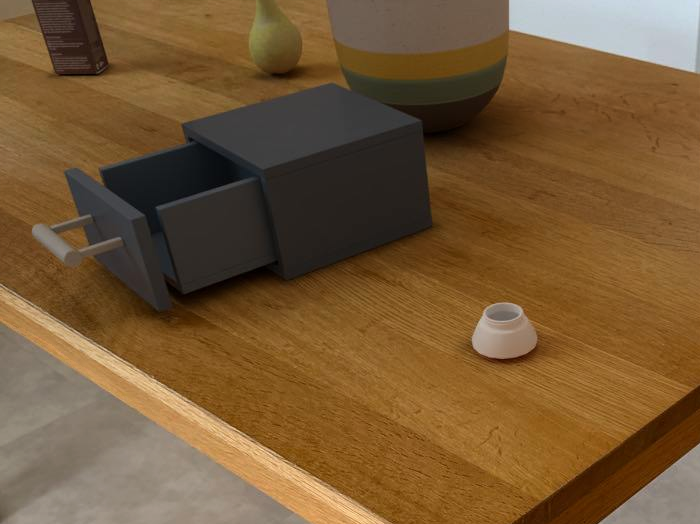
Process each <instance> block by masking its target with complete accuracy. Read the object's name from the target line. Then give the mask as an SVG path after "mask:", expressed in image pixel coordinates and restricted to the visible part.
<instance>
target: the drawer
mask: <svg viewBox="0 0 700 524" xmlns="http://www.w3.org/2000/svg"><path fill="white" fill-rule="evenodd" d="M98 172H99V175H100V179H101V181H102V183H101V182H99V181H97V180H96V179H94V177H91V176H90V175H89V174H87V173H86V172H84V171H83V170H82V169H81V168H79V167H78V166H75V167H72V168H68V169H66V170H63V174H64V176H65V179H66V182H67V186H68V188H69V191H70V194H71V197H72V199H73V203H74V205H75V208H76V211H77V215H78V217H75V218H73V219H69V220H66V221H63V222H59V223H56V224H51V225H49V226H48V225H47V224H46V223H42V222H41V223H40V222H39V223H36V224H35V225H33V226H32V229H31V234H32V236H33V238H34V239H35V240H37V241H38V242H39V243H40V244H41V245H42V246H44V247H45V249H47V250H48V251H49V252H51V253H52V254H53V255H54V256H55V257H56V258H57V259H59V261H61V262H62V263H63V264H64V265H65V266H67V267H69V268H71V269H76V268H78V267H79V266H81V264H82V262H83V259H87V258H90V257H93V259H94V260H95V261H96V262H98V263H99V264H100V265H101V266H102V267H104V268H105V269H106V270H108V271H109V272H110V273H111V274H112V275H114V276H115V278H117V279H118V280H119V281H121V282H122V283H123V284H125V285H126V286H127V287H128V288H129V289H131V290H132V291H133V292H134V293H135V294H137V295H138V296H139V297H140V298H142V299H143V300H144V301H145V302H146V303H147V304H149V305H150V306H152V307H153V308H154V309H155V310H156V311H157V312H159V313H162V312H165V311H166V310H167V311H168V310H171V309H172V308H173V303H172V300H171V296H170V294H169V289H168V286H167V283H168V284H169V285H171V286H172V287H173V288H175V289H176V290H177V291H179V292H180V293H181V294H183V295H186V294H189V293H192V292H194V291H197V290H200V289H202V288H205V287H209V286H211V285H213V284H217V283H219V282H222V281H225V280H228V279H230V278H233V277H237V276H239V275H242V274H245V273H247V272H251V271H252V270H253V271H254V270H256V269H258V268H261V267H265V266H264V265H267V264H270V263H272V262H275V261H278V259H277V254H276V249H275V245H274V240H273V235H272V231H271V226H270V221H269V217H268V212H267V207H266V203H265V198H264V193H263V189H262V184H261V179H260V177H259V176H257V175H256V174H254V173H252V172H250V171H249V170H247V169H245V168H243V167H241V166H240V165H238V164H236V163H234V162H233V161H231V160H229V159H227V158H226V157H224V156H222V155H220V154H219V153H217V152H215V151H213V150H212V149H210V148H208V147H206V146H205V145H203V144H201V143H199V142H198V141H196V140H195V141H192V142H188V143H186V142H184V143H181V144H178V145H174V146H170V147H168V148H164V149H161V150H156V151H152V152H150V153H146V154H143V155H138V156H135V157H132V158H129V159H125V160H121V161H118V162H115V163H110V164H107V165H104V166H100V167H98ZM81 227H82V228H83V231H84V234H85V235H84V236H85V237H86V240H87V244H88V246H86V247H82V248H79V249H75V247H74V246H72V245H71V244H70V243H68V242H67V241H66V240H65V239H64V238H62V237H61V236H60V235H59V234H62V233H65V232H69V231H71V230H76V229H78V228H81ZM166 282H167V283H166Z"/></svg>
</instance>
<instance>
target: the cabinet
mask: <svg viewBox="0 0 700 524" xmlns="http://www.w3.org/2000/svg"><path fill="white" fill-rule="evenodd" d="M180 126H181V129H182V133H183V136H184V140H185V143H188V142H192V141H195V140H196V141H198V142H199V143H201V144H203V145H205V146H206V147H208V148H210V149H212V150H213V151H215V152H217V153H219V154H220V155H222V156H224V157H226V158H227V159H229V160H231V161H233V162H234V163H236V164H238V165H240V166H241V167H243V168H245V169H247V170H249V171H250V172H252V173H254V174H256V175H257V176H259V177H260V179H261V184H262V189H263V193H264V198H265V203H266V207H267V212H268V217H269V221H270V226H271V231H272V235H273V240H274V245H275V249H276V254H277V259H278V261H275V262H272V263H270V264H267V265H264V266H263V267H265V268H267V269H268V270H269V271H271V272H273V273H274V274H276V275H277V276H279V277H280V278H282V279H283V280H284V281H289V280H292V279H295V278H298V277H301V276H303V275H306V274H308V273H311V272H314V271H317V270H320V269H322V268H324V267H325V268H326V267H327V266H330V265H333V264H335V263H339V262H341V261H343V260H345V259H348V258H351V257H354V256H356V255H359V254H362V253H365V252H368V251H370V250H374V249H376V248H378V247H381V246H383V245H386V244H389V243H392V242H394V241H397V240H400V239H402V238H405V237H408V236H411V235H413V234H416V233H418V232H421V231H423V230H427V229H429V228H432V227H433V218H432V208H431V198H430V189H429V187H430V186H429V178H428V168H427V158H426V150H425V149H426V148H425V139H424V133H423V131H422V130H423V128H422V120H420V119H417V118H415V117H413V116H410V115H408V114H405V113H403V112H401V111H398V110H396V109H394V108H391V107H389V106H387V105H384V104H382V103H379V102H377V101H375V100H372V99H370V98H368V97H365V96H363V95H360V94H358V93H356V92H353V91H351V89H350V88H346V87H344V86H342V85H339V84H337V83H334V82H328V83H326V84H321V85H317V86H314V87H310V88H306V89H303V90H300V91H295V92H292V93H289V94H285V95H281V96H278V97H274V98H271V99H267V100H263V101H259V102H255V103H251V104H248V105H244V106H240V107H238V108H237V107H236V108H234V109H229V110H225V111H222V112H219V113H215V114H211V115H208V116H204V117H200V118H196V119H192V120H189V121H185V122H182V123H180Z"/></svg>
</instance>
